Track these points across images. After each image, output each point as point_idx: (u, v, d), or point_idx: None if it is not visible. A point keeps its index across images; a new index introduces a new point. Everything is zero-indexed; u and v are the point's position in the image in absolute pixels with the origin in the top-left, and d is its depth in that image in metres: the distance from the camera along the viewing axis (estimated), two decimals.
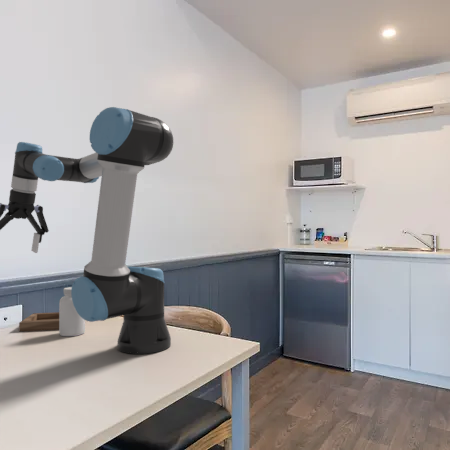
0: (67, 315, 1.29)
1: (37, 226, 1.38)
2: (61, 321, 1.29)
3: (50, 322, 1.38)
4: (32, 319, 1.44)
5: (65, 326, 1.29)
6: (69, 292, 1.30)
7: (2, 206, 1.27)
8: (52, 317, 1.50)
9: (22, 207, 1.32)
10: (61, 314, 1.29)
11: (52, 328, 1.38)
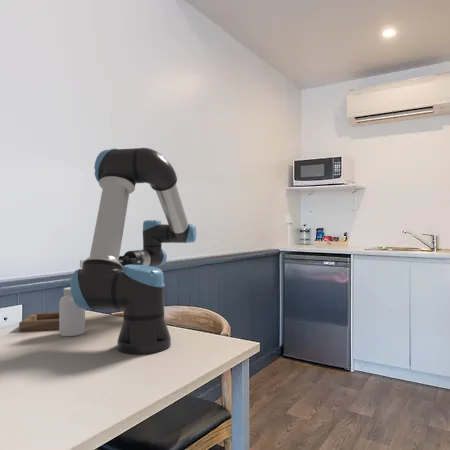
0: (67, 315, 1.29)
1: None
2: (61, 321, 1.29)
3: (50, 322, 1.38)
4: (32, 319, 1.44)
5: (65, 326, 1.29)
6: (69, 292, 1.30)
7: None
8: (52, 317, 1.50)
9: None
10: (61, 314, 1.29)
11: (52, 328, 1.38)
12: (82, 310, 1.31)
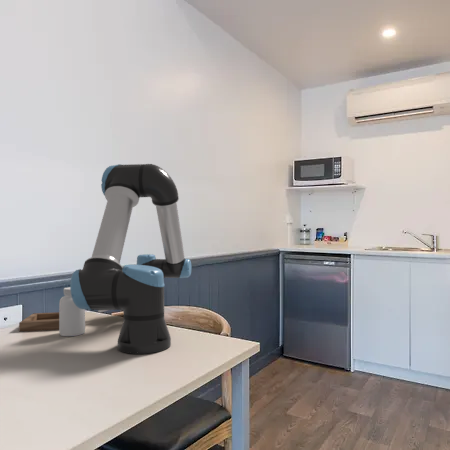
0: (67, 315, 1.29)
1: None
2: (61, 321, 1.29)
3: (50, 322, 1.38)
4: (32, 319, 1.44)
5: (65, 326, 1.29)
6: (69, 292, 1.30)
7: None
8: (52, 317, 1.50)
9: None
10: (61, 314, 1.29)
11: (52, 328, 1.38)
12: (82, 310, 1.31)
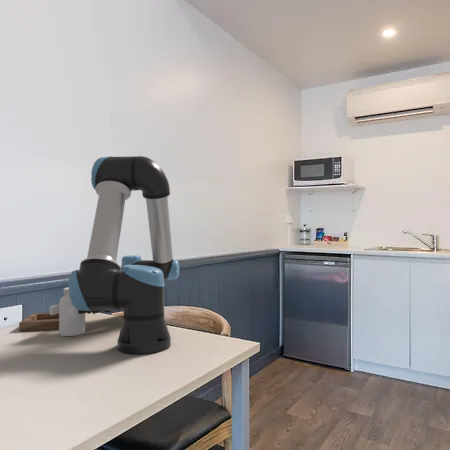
0: (67, 315, 1.29)
1: None
2: (61, 321, 1.29)
3: (50, 322, 1.38)
4: (32, 319, 1.44)
5: (65, 326, 1.29)
6: None
7: None
8: (52, 317, 1.50)
9: None
10: (61, 314, 1.29)
11: (52, 328, 1.38)
12: None
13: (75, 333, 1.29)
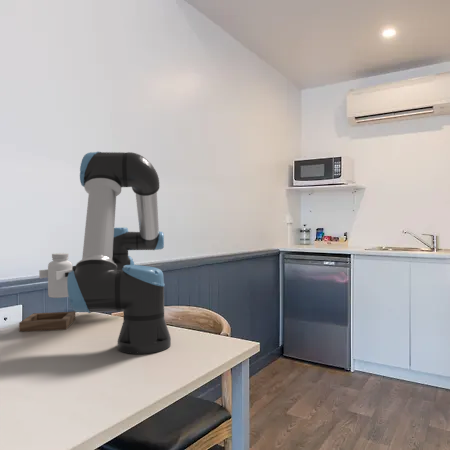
0: (54, 278, 1.38)
1: None
2: (49, 284, 1.39)
3: (50, 322, 1.38)
4: (32, 319, 1.44)
5: (53, 288, 1.38)
6: (57, 257, 1.39)
7: None
8: (52, 317, 1.50)
9: None
10: (49, 277, 1.39)
11: (52, 328, 1.38)
12: None
13: (62, 295, 1.39)
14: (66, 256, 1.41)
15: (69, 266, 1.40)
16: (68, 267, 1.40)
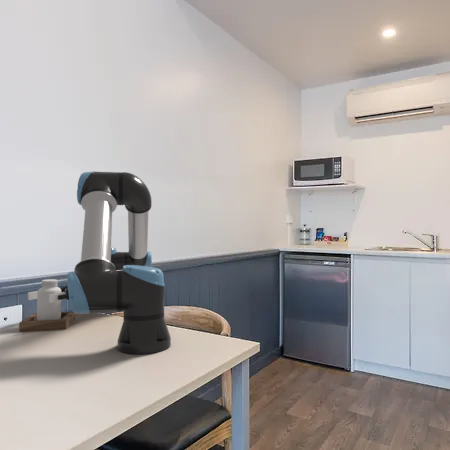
0: (44, 304, 1.41)
1: None
2: (38, 310, 1.42)
3: (50, 322, 1.38)
4: (32, 319, 1.44)
5: (42, 314, 1.41)
6: (46, 284, 1.42)
7: (65, 286, 1.58)
8: None
9: None
10: (38, 303, 1.42)
11: (52, 328, 1.38)
12: None
13: None
14: (55, 283, 1.44)
15: None
16: None
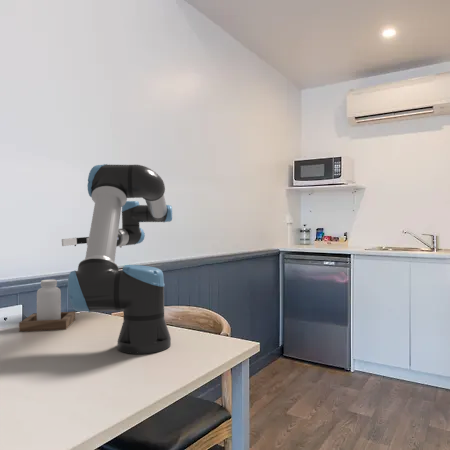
0: (43, 305, 1.41)
1: None
2: (38, 310, 1.42)
3: (50, 322, 1.38)
4: (32, 319, 1.44)
5: (41, 315, 1.41)
6: (45, 284, 1.42)
7: None
8: None
9: None
10: (38, 304, 1.42)
11: (52, 328, 1.38)
12: (57, 300, 1.44)
13: None
14: (55, 283, 1.44)
15: (57, 293, 1.44)
16: (56, 294, 1.43)
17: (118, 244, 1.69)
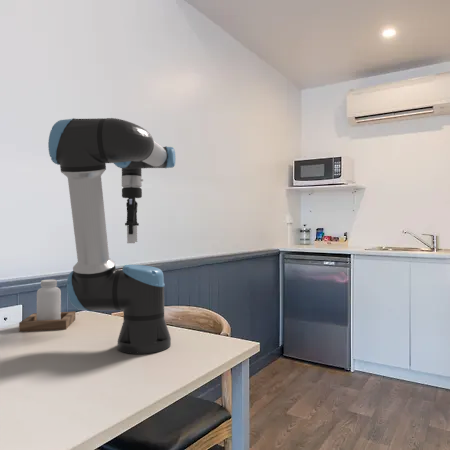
0: (43, 305, 1.41)
1: None
2: (38, 310, 1.42)
3: (50, 322, 1.38)
4: (32, 319, 1.44)
5: (41, 315, 1.41)
6: (45, 284, 1.42)
7: None
8: None
9: None
10: (38, 304, 1.42)
11: (52, 328, 1.38)
12: (57, 300, 1.44)
13: None
14: (55, 283, 1.44)
15: (57, 293, 1.44)
16: (56, 294, 1.43)
17: (138, 189, 1.54)
